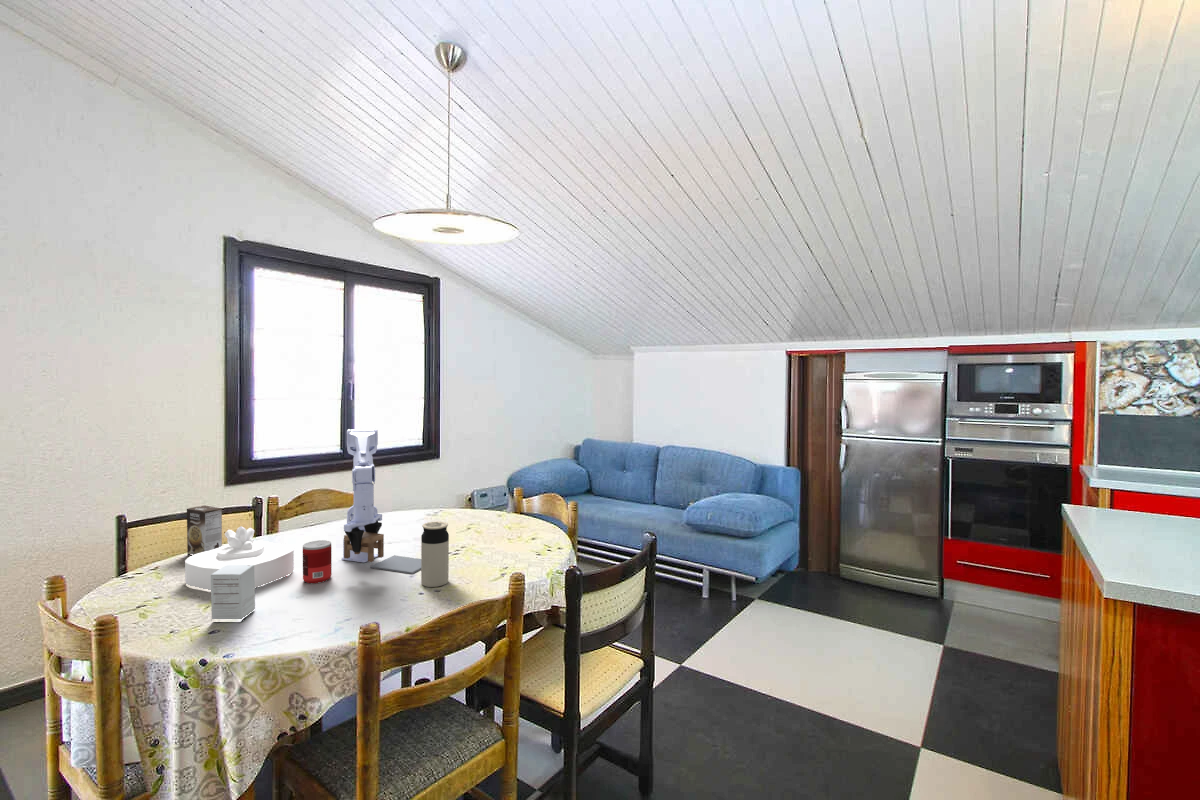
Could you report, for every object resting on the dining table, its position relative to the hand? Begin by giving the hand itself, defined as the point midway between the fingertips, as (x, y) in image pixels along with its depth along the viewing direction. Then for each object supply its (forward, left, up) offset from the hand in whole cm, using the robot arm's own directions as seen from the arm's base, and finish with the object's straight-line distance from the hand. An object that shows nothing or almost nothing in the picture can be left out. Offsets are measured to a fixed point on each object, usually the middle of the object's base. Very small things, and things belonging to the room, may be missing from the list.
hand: (363, 549), depth 178 cm
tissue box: (-36, -12, -10) cm, 39 cm away
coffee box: (-66, 0, -10) cm, 67 cm away
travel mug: (+22, +5, -10) cm, 25 cm away
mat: (+3, +15, -9) cm, 18 cm away
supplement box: (-12, -34, -10) cm, 37 cm away
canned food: (-13, -5, -10) cm, 17 cm away
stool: (0, 0, -3) cm, 3 cm away
